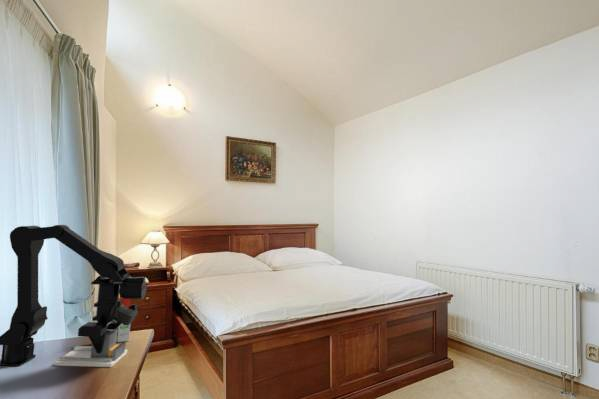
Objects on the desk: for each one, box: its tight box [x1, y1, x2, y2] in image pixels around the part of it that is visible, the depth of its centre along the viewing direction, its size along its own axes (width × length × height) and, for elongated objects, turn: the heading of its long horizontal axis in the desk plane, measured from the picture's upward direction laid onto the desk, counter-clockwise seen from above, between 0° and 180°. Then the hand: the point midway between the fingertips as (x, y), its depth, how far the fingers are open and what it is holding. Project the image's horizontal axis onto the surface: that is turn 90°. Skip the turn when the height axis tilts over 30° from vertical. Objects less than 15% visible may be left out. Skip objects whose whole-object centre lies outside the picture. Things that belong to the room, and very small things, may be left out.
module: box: [91, 329, 117, 357], centre depth 99 cm, size 5×4×7 cm
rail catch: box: [108, 344, 119, 357], centre depth 99 cm, size 1×4×2 cm, turn 4°
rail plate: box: [54, 341, 128, 368], centre depth 99 cm, size 16×10×4 cm, turn 94°
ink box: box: [116, 297, 132, 344], centre depth 113 cm, size 4×8×15 cm, turn 123°
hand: (103, 349), depth 99 cm, fingers closed on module, 4 cm apart
